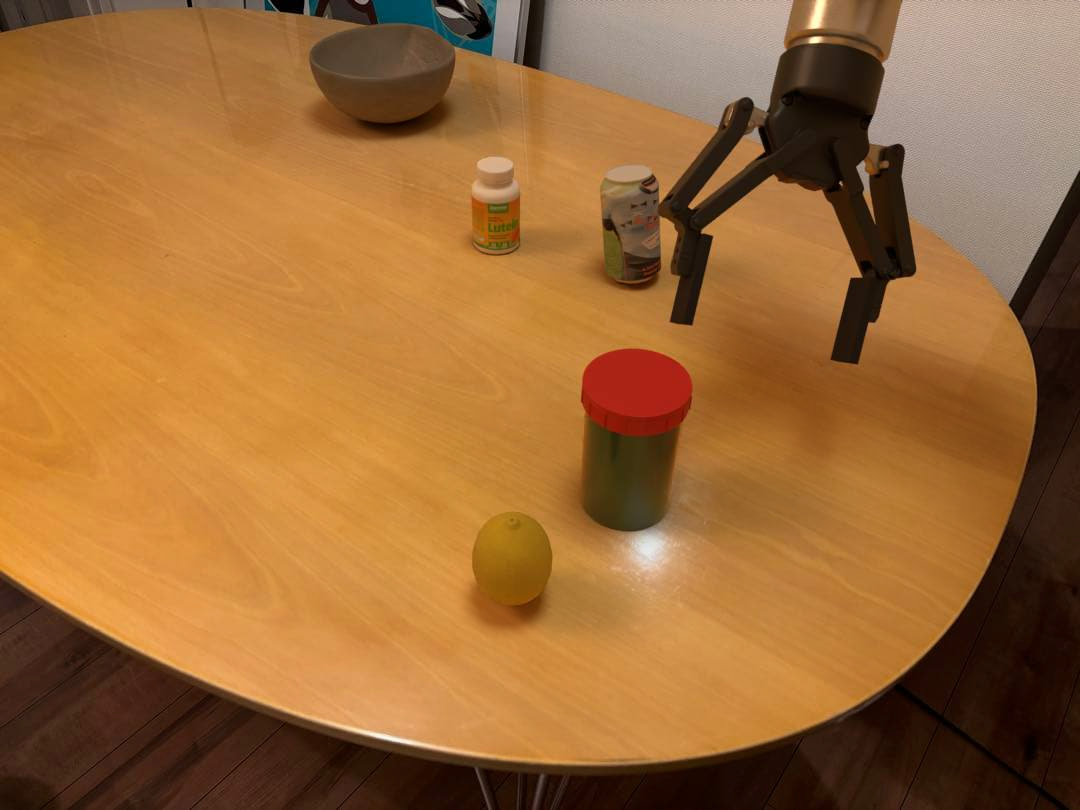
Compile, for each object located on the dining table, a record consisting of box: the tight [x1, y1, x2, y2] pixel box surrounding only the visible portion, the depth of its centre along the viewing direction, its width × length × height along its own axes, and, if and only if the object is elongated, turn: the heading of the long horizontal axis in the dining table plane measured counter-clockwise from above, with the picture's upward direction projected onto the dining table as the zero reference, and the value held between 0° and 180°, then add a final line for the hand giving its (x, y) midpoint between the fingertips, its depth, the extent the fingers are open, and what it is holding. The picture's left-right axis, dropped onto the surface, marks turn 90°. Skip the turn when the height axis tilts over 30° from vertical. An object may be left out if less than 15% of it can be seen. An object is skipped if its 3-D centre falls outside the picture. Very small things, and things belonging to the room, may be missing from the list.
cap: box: [580, 347, 693, 436], centre depth 64 cm, size 8×8×2 cm
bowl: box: [308, 22, 457, 124], centre depth 126 cm, size 20×20×10 cm
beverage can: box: [599, 163, 662, 284], centre depth 93 cm, size 6×7×12 cm
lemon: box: [471, 511, 553, 606], centre depth 61 cm, size 6×6×8 cm
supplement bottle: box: [470, 156, 521, 255], centre depth 98 cm, size 5×5×10 cm
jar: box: [579, 410, 683, 532], centre depth 67 cm, size 7×7×12 cm
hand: (764, 344), depth 66 cm, fingers open, 13 cm apart
